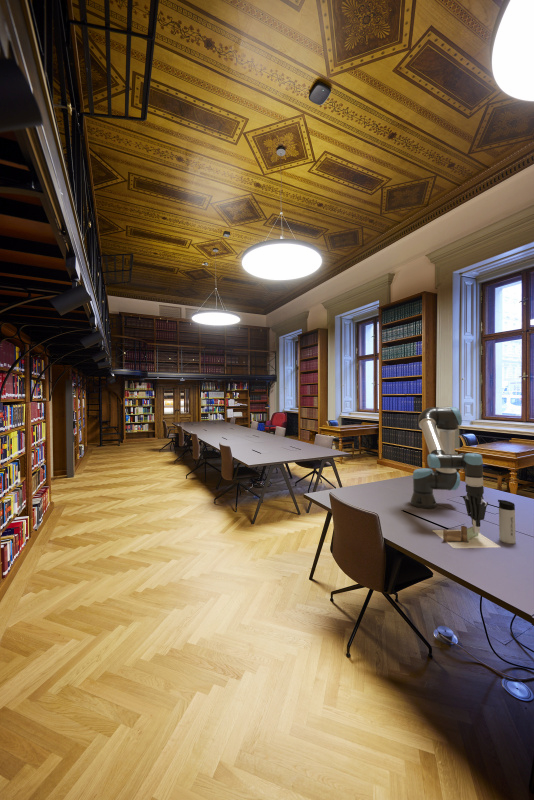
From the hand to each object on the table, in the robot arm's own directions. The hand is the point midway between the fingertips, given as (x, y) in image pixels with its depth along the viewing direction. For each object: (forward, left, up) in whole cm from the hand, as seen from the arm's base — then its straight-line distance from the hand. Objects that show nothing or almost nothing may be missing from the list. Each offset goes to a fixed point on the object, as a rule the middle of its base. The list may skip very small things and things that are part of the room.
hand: (476, 532), depth 158 cm
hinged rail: (-1, -2, -2) cm, 3 cm away
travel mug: (+4, +12, -4) cm, 13 cm away
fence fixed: (+3, -12, -3) cm, 13 cm away
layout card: (0, -6, -3) cm, 7 cm away
